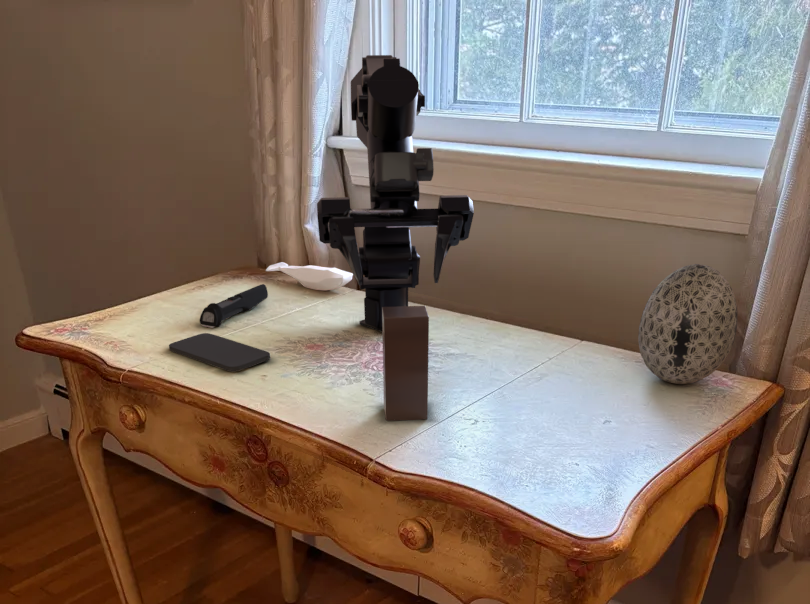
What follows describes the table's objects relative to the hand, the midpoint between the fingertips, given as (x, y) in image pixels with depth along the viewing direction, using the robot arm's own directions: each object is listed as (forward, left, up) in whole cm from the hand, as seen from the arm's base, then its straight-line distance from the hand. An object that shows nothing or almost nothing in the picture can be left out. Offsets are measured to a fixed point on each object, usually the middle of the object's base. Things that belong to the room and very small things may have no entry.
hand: (398, 282), depth 95 cm
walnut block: (+5, +6, -14) cm, 16 cm away
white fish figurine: (-23, -44, -14) cm, 51 cm away
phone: (+9, -27, -14) cm, 32 cm away
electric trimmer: (-4, -41, -14) cm, 44 cm away
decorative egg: (-27, +25, -14) cm, 39 cm away
